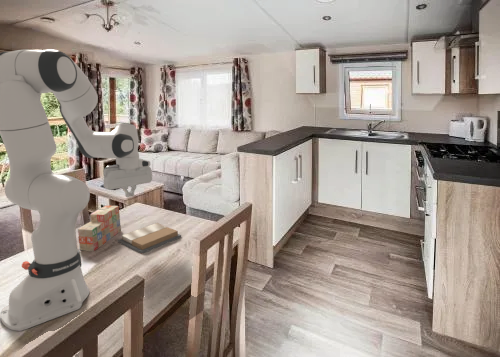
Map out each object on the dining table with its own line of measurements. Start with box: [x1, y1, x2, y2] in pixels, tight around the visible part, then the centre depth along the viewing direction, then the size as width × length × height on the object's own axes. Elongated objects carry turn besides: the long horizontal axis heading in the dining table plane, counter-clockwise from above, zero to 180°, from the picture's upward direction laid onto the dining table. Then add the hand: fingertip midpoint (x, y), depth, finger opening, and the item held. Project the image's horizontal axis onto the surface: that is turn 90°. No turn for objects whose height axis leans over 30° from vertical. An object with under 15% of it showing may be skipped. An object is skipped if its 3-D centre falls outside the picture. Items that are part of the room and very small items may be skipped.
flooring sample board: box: [117, 226, 182, 254], centre depth 141 cm, size 20×17×3 cm
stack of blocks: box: [77, 205, 122, 252], centre depth 140 cm, size 21×6×12 cm, turn 173°
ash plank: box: [121, 222, 167, 244], centre depth 143 cm, size 18×7×2 cm, turn 142°
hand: (129, 196), depth 135 cm, fingers closed
